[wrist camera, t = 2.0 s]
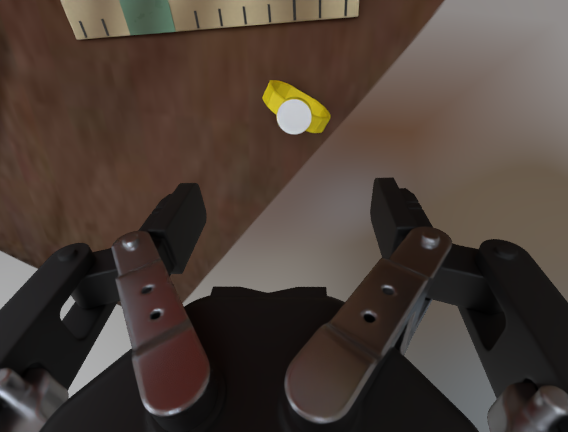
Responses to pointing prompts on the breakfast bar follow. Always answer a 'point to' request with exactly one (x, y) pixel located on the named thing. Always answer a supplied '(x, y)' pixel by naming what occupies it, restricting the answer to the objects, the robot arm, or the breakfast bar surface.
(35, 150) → the breakfast bar surface
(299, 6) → the ruler
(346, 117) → the breakfast bar surface
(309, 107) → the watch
